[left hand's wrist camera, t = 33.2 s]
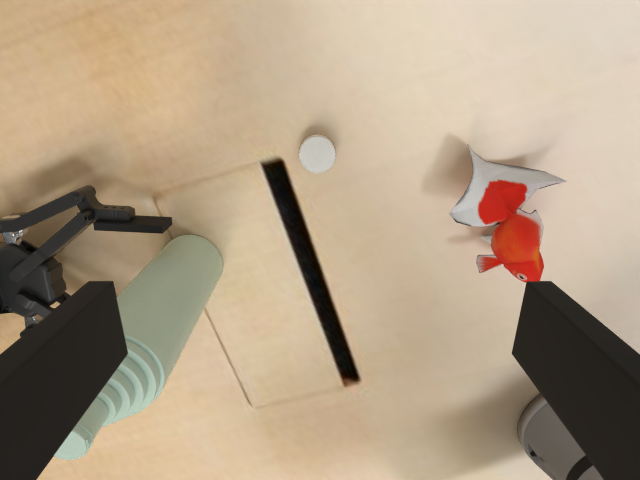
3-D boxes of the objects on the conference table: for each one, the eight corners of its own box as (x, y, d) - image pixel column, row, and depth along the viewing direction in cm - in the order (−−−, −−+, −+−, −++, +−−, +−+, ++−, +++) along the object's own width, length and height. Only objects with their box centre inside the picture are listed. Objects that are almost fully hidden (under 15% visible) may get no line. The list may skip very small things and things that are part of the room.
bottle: (168, 290, 48) (22, 489, 24) (156, 235, 46) (-19, 398, 22) (227, 288, 48) (138, 485, 24) (218, 232, 46) (110, 393, 22)
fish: (444, 300, 44) (508, 302, 34) (411, 164, 45) (465, 129, 35) (522, 279, 47) (601, 276, 37) (489, 153, 48) (558, 117, 38)
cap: (313, 177, 43) (313, 181, 41) (292, 148, 42) (291, 151, 40) (342, 156, 42) (343, 159, 41) (321, 126, 41) (321, 128, 39)
